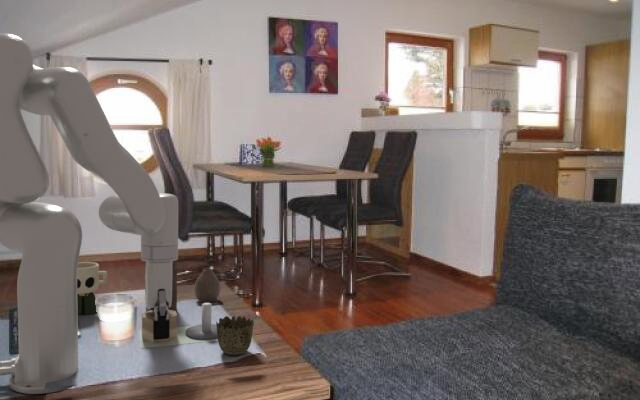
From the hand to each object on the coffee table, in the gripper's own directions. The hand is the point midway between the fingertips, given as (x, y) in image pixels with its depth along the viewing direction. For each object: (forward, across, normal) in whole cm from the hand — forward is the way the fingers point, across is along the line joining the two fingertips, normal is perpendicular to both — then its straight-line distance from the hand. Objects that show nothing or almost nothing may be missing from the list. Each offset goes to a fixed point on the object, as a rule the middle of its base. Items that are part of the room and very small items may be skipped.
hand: (159, 331), depth 118 cm
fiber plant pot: (+3, +13, +14) cm, 19 cm away
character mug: (+3, -23, -16) cm, 28 cm away
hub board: (+3, 0, +5) cm, 6 cm away
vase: (+3, -30, +15) cm, 34 cm away
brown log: (+3, -19, +2) cm, 19 cm away
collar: (+1, 0, 0) cm, 1 cm away
